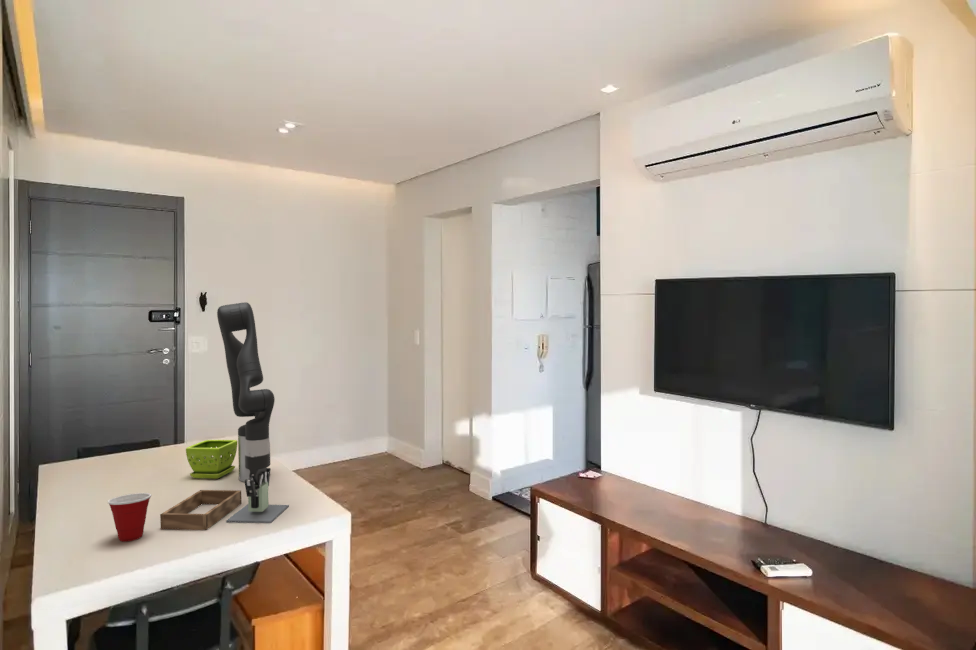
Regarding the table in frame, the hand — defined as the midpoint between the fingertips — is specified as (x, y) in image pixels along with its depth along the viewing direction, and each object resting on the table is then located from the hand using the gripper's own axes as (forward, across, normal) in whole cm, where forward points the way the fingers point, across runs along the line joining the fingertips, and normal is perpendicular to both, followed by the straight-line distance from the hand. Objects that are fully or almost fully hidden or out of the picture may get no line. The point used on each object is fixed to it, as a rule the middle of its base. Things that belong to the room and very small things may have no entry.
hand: (258, 504), depth 182 cm
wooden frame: (+3, +2, -17) cm, 17 cm away
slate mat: (+3, 0, 0) cm, 3 cm away
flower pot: (+3, -39, -36) cm, 53 cm away
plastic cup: (+3, +19, -29) cm, 35 cm away
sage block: (+1, 0, 0) cm, 1 cm away
